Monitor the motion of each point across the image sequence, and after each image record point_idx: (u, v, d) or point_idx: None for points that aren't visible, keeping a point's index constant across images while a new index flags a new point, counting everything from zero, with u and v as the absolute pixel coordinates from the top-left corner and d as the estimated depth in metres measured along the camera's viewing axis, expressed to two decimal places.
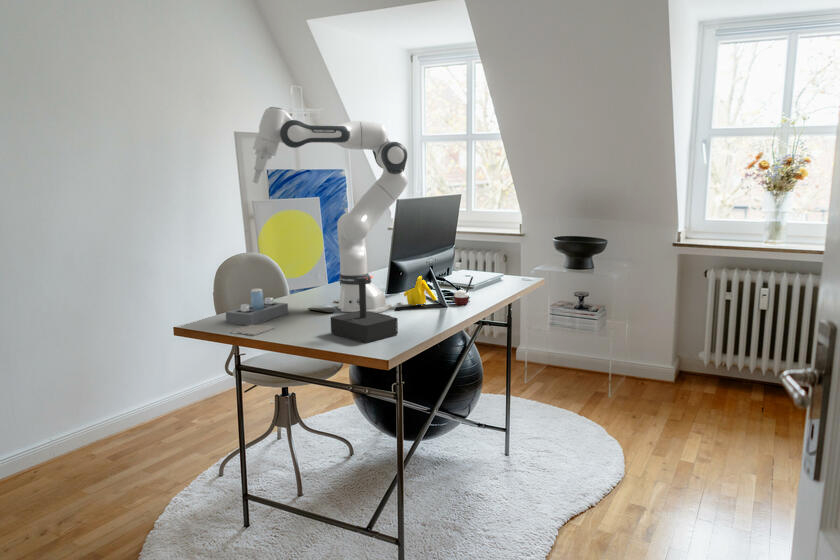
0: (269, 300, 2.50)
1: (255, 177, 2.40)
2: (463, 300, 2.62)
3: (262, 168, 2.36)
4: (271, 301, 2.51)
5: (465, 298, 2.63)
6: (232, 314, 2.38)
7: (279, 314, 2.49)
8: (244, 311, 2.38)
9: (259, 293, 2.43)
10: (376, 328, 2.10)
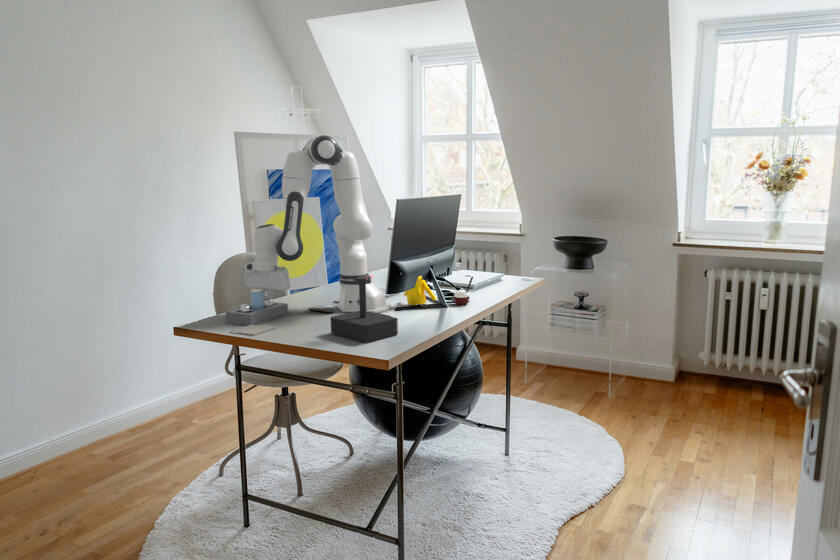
0: (269, 302, 2.51)
1: (270, 295, 2.50)
2: (463, 300, 2.62)
3: (289, 286, 2.47)
4: (271, 303, 2.51)
5: (465, 298, 2.63)
6: (232, 314, 2.38)
7: (279, 314, 2.49)
8: (244, 311, 2.38)
9: (259, 293, 2.43)
10: (376, 328, 2.10)
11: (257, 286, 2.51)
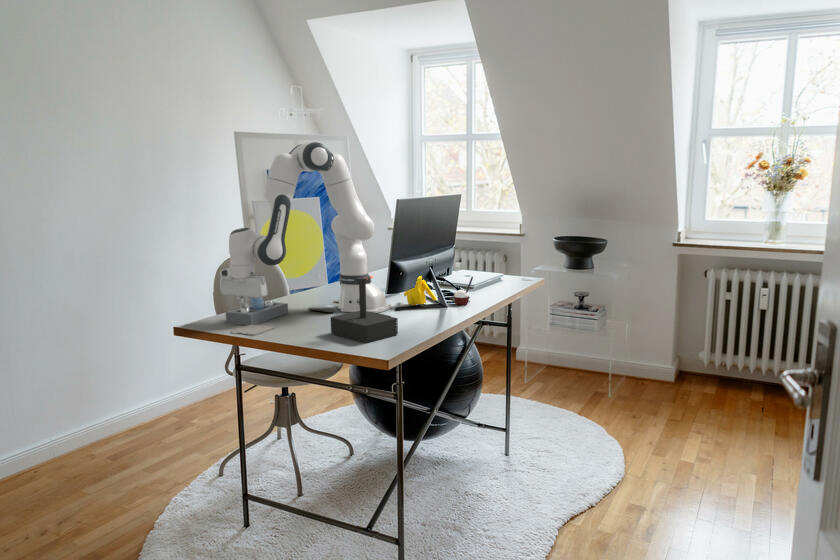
0: (269, 303, 2.51)
1: (246, 303, 2.38)
2: (463, 300, 2.62)
3: (266, 293, 2.35)
4: (271, 304, 2.51)
5: (465, 298, 2.63)
6: (232, 314, 2.38)
7: (279, 314, 2.49)
8: None
9: None
10: (376, 328, 2.10)
11: (233, 293, 2.39)
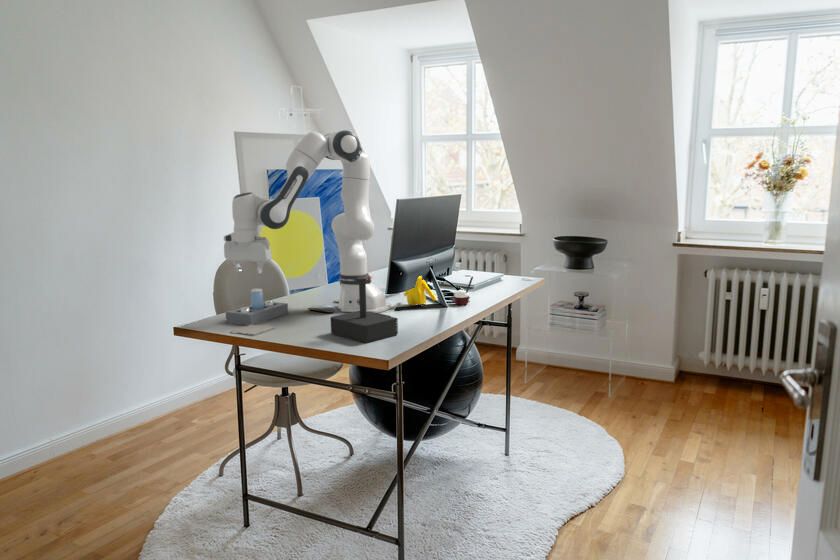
0: (269, 303, 2.51)
1: (259, 268, 2.37)
2: (463, 300, 2.62)
3: (271, 257, 2.36)
4: (271, 304, 2.51)
5: (465, 298, 2.63)
6: (232, 314, 2.38)
7: (279, 314, 2.49)
8: None
9: (259, 293, 2.43)
10: (376, 328, 2.10)
11: (237, 258, 2.39)
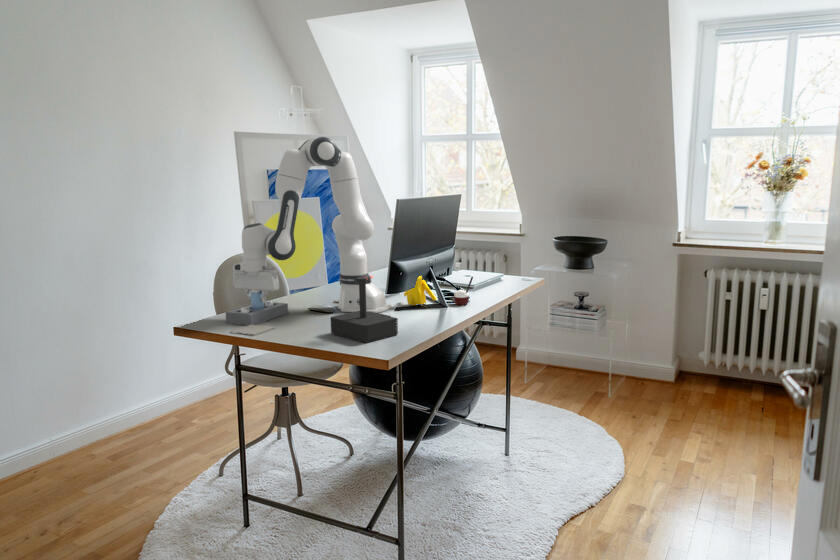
0: (269, 303, 2.51)
1: (264, 297, 2.43)
2: (463, 300, 2.62)
3: (278, 287, 2.41)
4: (271, 304, 2.51)
5: (465, 298, 2.63)
6: (232, 314, 2.38)
7: (279, 314, 2.49)
8: None
9: (259, 293, 2.43)
10: (376, 328, 2.10)
11: (246, 287, 2.45)
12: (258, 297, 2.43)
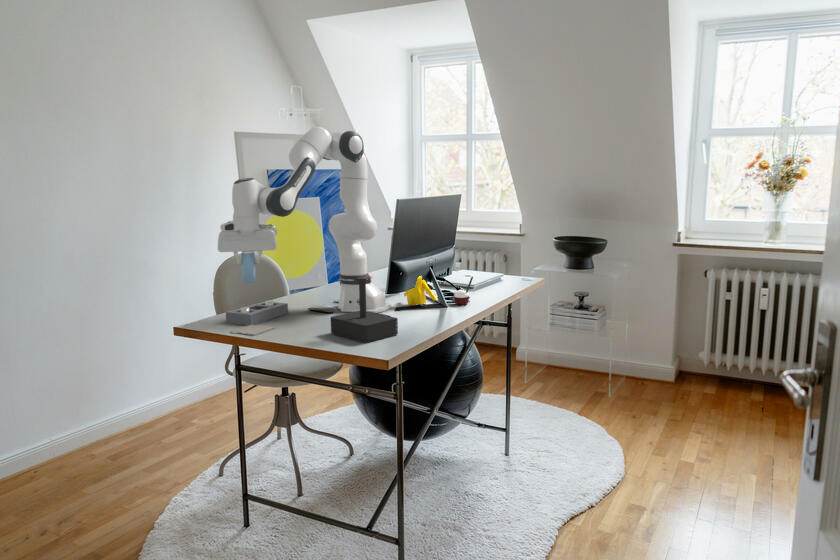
0: (269, 303, 2.51)
1: None
2: (463, 300, 2.62)
3: None
4: (271, 304, 2.51)
5: (465, 298, 2.63)
6: (232, 314, 2.38)
7: (279, 314, 2.49)
8: None
9: (254, 254, 2.24)
10: (376, 328, 2.10)
11: (237, 249, 2.21)
12: (253, 258, 2.24)
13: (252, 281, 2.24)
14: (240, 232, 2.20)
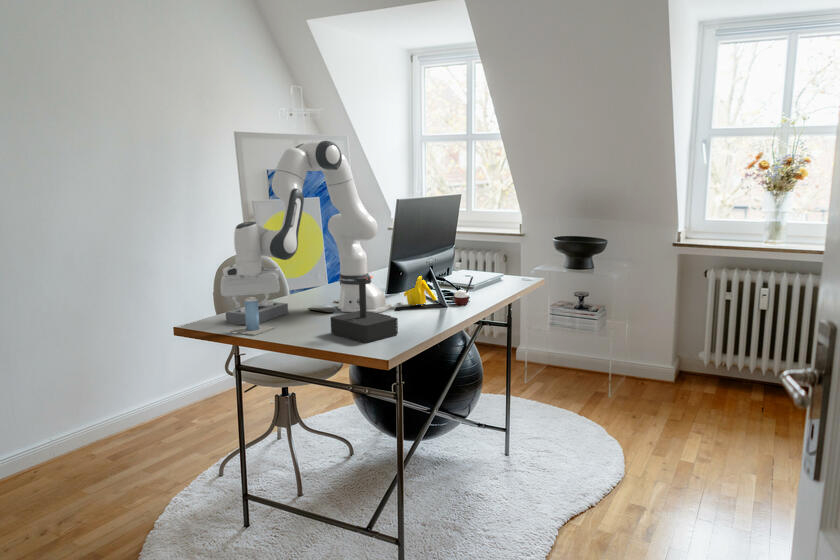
0: (269, 303, 2.51)
1: None
2: (463, 300, 2.62)
3: None
4: (271, 304, 2.51)
5: (465, 298, 2.63)
6: (232, 314, 2.38)
7: (279, 314, 2.49)
8: None
9: (257, 301, 2.25)
10: (376, 328, 2.10)
11: (240, 293, 2.21)
12: (257, 306, 2.24)
13: (256, 328, 2.25)
14: (243, 276, 2.20)
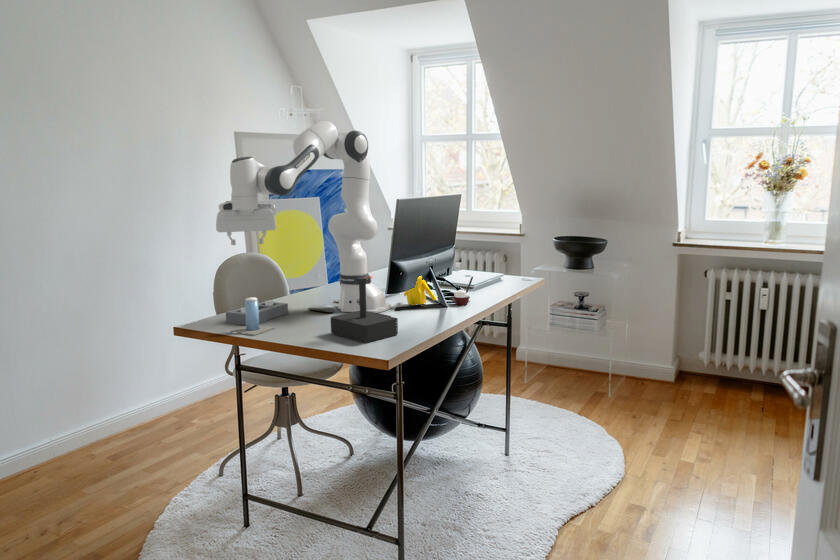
0: (269, 303, 2.51)
1: (263, 238, 2.22)
2: (463, 300, 2.62)
3: None
4: (271, 304, 2.51)
5: (465, 298, 2.63)
6: (232, 314, 2.38)
7: (279, 314, 2.49)
8: None
9: (257, 301, 2.25)
10: (376, 328, 2.10)
11: (236, 229, 2.17)
12: (257, 306, 2.25)
13: (256, 328, 2.25)
14: (239, 212, 2.16)
